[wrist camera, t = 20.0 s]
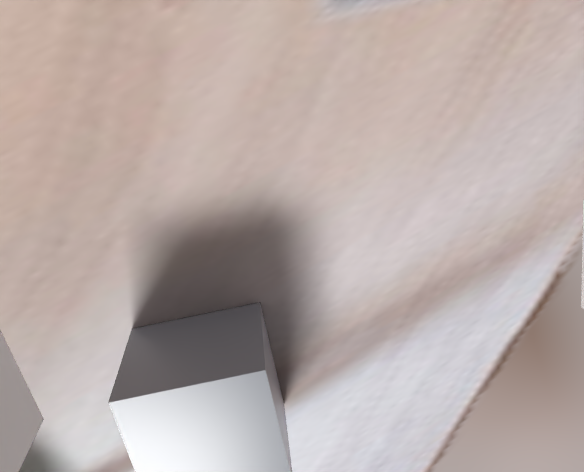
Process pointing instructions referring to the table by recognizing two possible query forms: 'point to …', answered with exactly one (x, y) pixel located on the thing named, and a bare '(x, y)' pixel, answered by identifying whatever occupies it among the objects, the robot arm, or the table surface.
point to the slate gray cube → (202, 396)
